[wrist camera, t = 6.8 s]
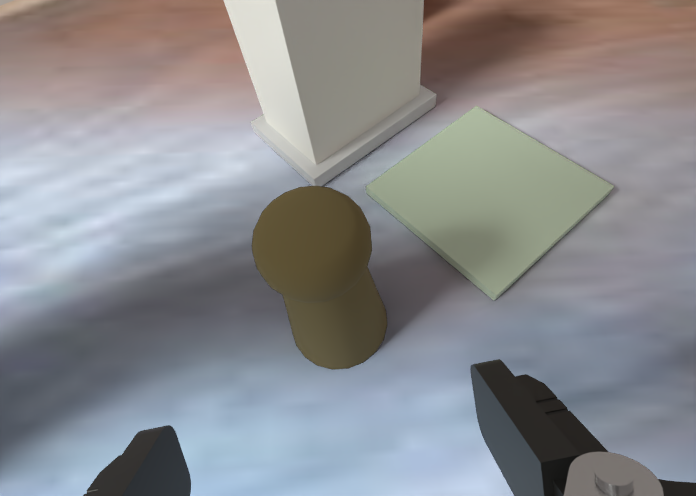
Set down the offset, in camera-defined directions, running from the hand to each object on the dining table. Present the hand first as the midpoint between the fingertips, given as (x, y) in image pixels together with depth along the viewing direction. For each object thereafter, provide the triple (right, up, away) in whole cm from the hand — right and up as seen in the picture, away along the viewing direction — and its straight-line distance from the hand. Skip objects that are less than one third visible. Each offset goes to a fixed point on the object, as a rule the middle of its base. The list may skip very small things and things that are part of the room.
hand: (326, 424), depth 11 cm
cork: (0, 0, +15) cm, 15 cm away
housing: (0, +16, +25) cm, 29 cm away
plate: (+10, +9, +19) cm, 23 cm away
